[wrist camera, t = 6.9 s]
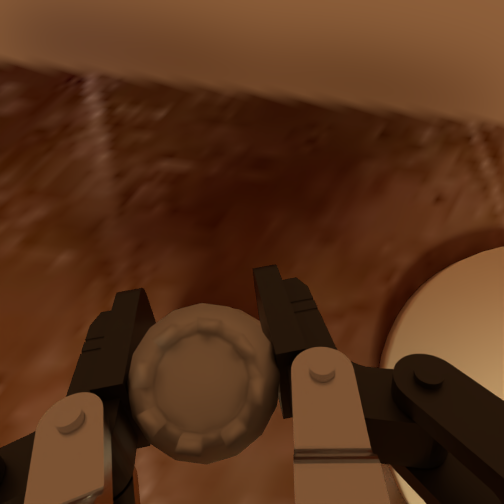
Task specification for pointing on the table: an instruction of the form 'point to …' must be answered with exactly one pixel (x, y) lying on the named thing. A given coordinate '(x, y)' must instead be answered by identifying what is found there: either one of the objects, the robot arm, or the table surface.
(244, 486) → the table surface
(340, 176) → the table surface
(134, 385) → the rook chess piece
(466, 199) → the table surface
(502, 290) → the cream plate
